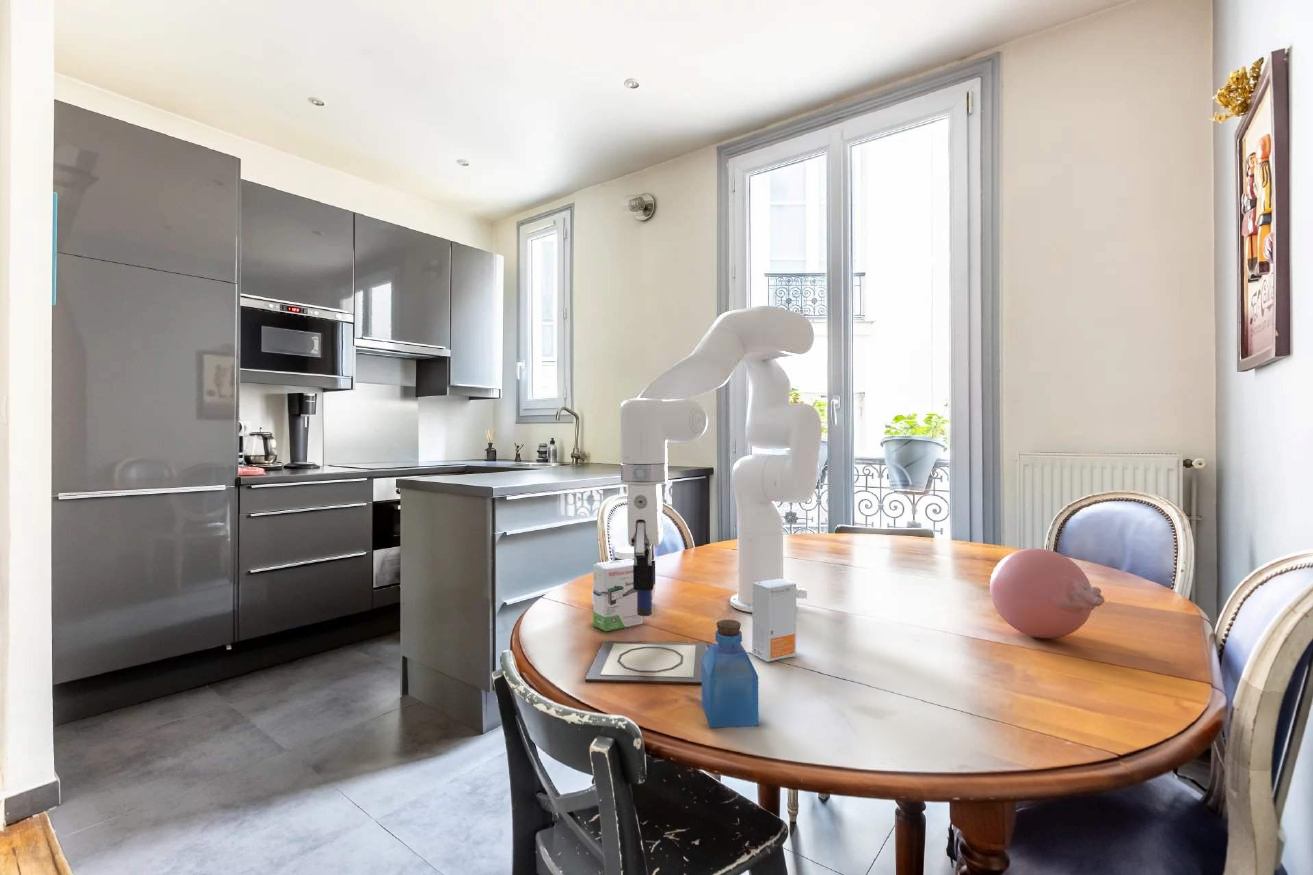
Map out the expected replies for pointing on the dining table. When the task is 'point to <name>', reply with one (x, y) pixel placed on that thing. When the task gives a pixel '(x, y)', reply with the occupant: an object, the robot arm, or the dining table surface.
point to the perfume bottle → (729, 680)
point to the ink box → (614, 595)
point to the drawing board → (648, 662)
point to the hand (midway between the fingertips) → (644, 586)
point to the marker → (644, 602)
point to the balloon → (1042, 593)
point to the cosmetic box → (774, 619)
